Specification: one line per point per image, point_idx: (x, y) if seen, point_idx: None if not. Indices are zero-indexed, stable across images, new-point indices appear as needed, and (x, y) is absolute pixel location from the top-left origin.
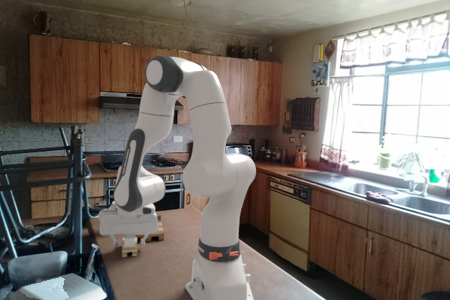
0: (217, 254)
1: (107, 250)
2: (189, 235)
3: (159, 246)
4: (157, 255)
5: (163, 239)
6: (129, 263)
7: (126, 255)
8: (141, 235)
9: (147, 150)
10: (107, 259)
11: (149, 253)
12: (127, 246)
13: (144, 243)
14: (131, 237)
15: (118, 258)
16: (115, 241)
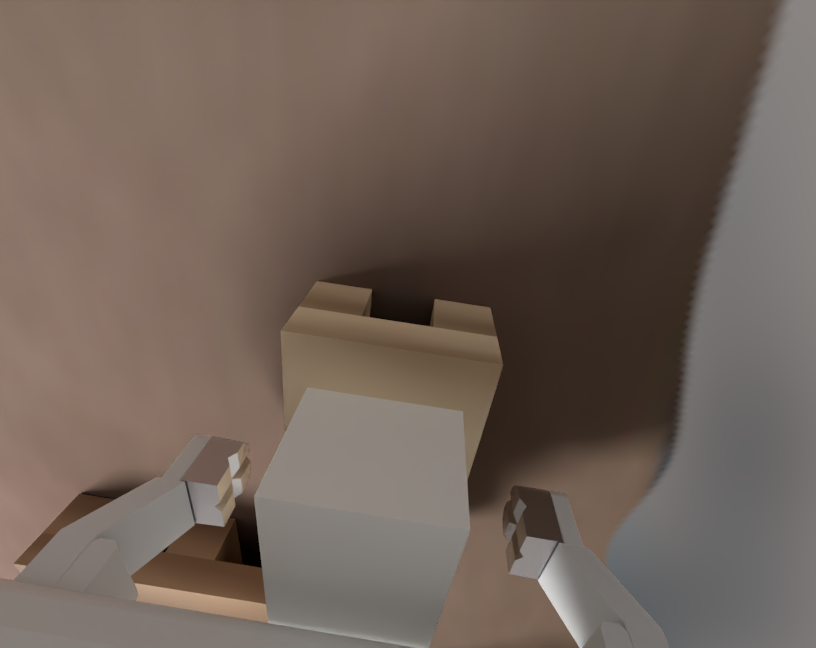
0: None
1: (588, 483)
2: None
3: (96, 406)
4: (67, 206)
5: (79, 501)
6: (436, 71)
7: (440, 306)
8: (246, 587)
9: None
10: (670, 303)
11: (176, 292)
12: (414, 410)
13: (198, 439)
14: (326, 542)
15: (540, 285)
16: (552, 550)
